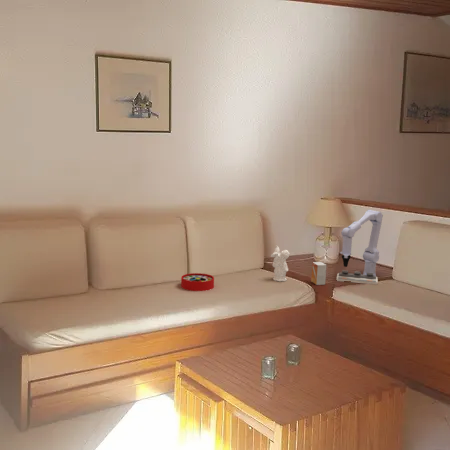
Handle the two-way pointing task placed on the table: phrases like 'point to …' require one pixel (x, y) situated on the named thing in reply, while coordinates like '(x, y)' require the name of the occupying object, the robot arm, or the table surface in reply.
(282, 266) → the cherub figurine
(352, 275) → the switch panel
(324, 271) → the small box
